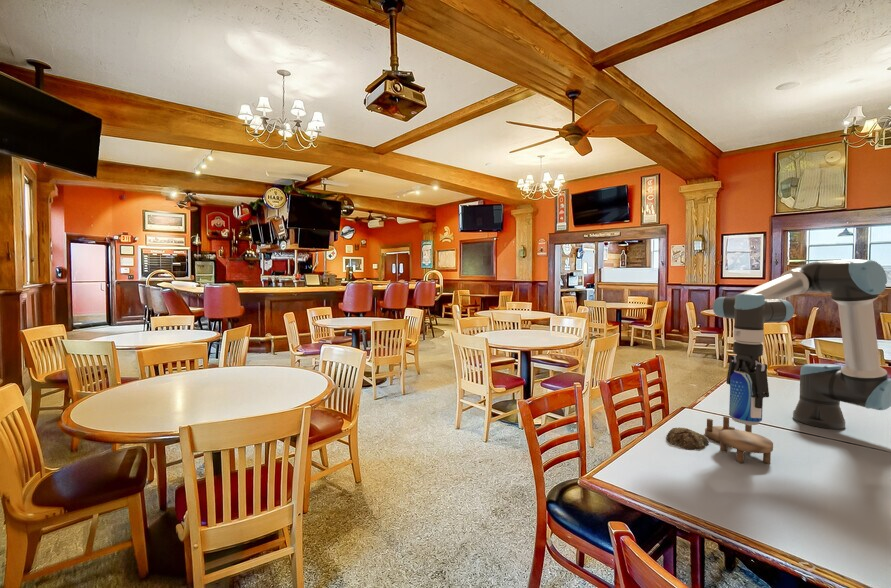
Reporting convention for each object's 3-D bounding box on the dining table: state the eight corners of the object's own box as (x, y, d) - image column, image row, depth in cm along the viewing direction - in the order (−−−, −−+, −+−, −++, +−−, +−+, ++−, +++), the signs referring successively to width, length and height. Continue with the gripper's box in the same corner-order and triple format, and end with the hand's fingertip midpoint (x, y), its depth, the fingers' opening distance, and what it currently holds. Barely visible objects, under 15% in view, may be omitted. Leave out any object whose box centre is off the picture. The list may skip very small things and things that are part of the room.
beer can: (767, 426, 122) (769, 375, 121) (737, 424, 124) (738, 374, 123) (752, 417, 130) (754, 369, 130) (724, 415, 132) (725, 368, 131)
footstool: (751, 447, 134) (751, 429, 134) (784, 467, 120) (785, 447, 120) (708, 446, 135) (709, 429, 135) (736, 466, 121) (737, 447, 121)
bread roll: (672, 433, 148) (672, 419, 147) (711, 442, 139) (711, 428, 139) (660, 443, 139) (661, 429, 138) (701, 454, 130) (702, 439, 130)
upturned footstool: (724, 429, 150) (724, 413, 150) (763, 444, 137) (763, 427, 137) (695, 433, 146) (696, 417, 146) (733, 449, 133) (733, 431, 132)
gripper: (714, 337, 137) (712, 401, 138) (760, 348, 116) (757, 424, 117) (737, 337, 136) (735, 402, 137) (787, 348, 115) (784, 425, 116)
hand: (745, 412), depth 127 cm, fingers closed on beer can, 8 cm apart
